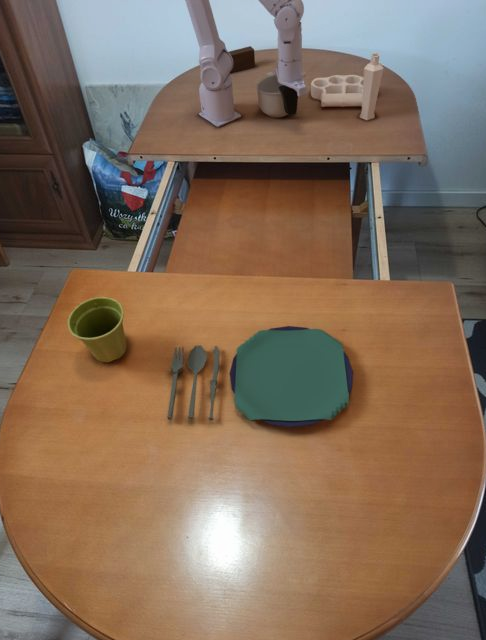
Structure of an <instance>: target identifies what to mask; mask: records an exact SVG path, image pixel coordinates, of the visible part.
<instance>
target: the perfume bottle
mask: <svg viewBox="0 0 486 640" xmlns="http://www.w3.org/2000/svg"><path fill="white" fill-rule="evenodd" d="M380 57H381V54H380V53H378V52H373V53H371V55H370V62H368V63H367V64H366V65H365V66H364V68H363V77H364V80H363V98H362V107H361V112H360V114H359V119H362V120H364V121H370V120H372V119H376V118H375V111H376V110H375V109H376V104H377V100H378V95H379V91H380V87H381V82H382V77H383V74H384V68H385V67H384V66H383V65H382V63H380Z"/></svg>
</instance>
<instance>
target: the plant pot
mask: <svg viewBox="0 0 486 640" xmlns="http://www.w3.org/2000/svg"><path fill="white" fill-rule="evenodd" d="M124 316H125V312H124V308H123V306H122V304H121V303H120V302H119V301H118V300H116V299H114V298H112V297H109V296H97V297H93V298H88V299H87V300H84V301H82V302H80V303H79V304H78V305H76V307H75V308H73V310H72V311H71V312H70V314H69V315H68V317H67V328H68V331H69V333H70V334H71V336H73V337H75V339H78V340H80V341H81V342H82V343H83V345H84V346H85V347H86V348H87V349H88V351H89V352H90V353H91V354H92V356H93V357H94V359H96V360H97V361H99V362H102V363H111V362H112V361H115V360H118V359H121V357H123V355H125V353H126V351H127V347H128V345H127V340H126V335H125V329H124V324H123V323H124Z"/></svg>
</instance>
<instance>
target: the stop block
mask: <svg viewBox="0 0 486 640" xmlns="http://www.w3.org/2000/svg"><path fill="white" fill-rule="evenodd" d="M228 52H229V54H230V55H231V56H232V59H233V68H232V70H231V71H230V74H233V73H236V72H240V71H244V70H249V69H253V68H255V67H256V59H255V57H256V56H255V49H254V48H253V47H252V46H251V45H249V46H245V47H241V48H237V49H233V50H230V51H228Z"/></svg>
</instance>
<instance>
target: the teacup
mask: <svg viewBox="0 0 486 640" xmlns="http://www.w3.org/2000/svg"><path fill="white" fill-rule="evenodd" d="M279 86H282V84H280V83H279V82H278V78H277V76H276V75H275V72H273V71H268V72H267V74H266V76H264V77H262V78H260V79H259V80H258V81H257V83H256V89H257V90H256V91H257V101H258V105H259V108H260V110H261V111H262V113H264V114H265V115H267V116H268V117H270V118H283V117H286V116H289V115H288V114H287V113H286V112H285V109H284V102H283V97H282V94H281V92H280V90H279Z"/></svg>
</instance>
